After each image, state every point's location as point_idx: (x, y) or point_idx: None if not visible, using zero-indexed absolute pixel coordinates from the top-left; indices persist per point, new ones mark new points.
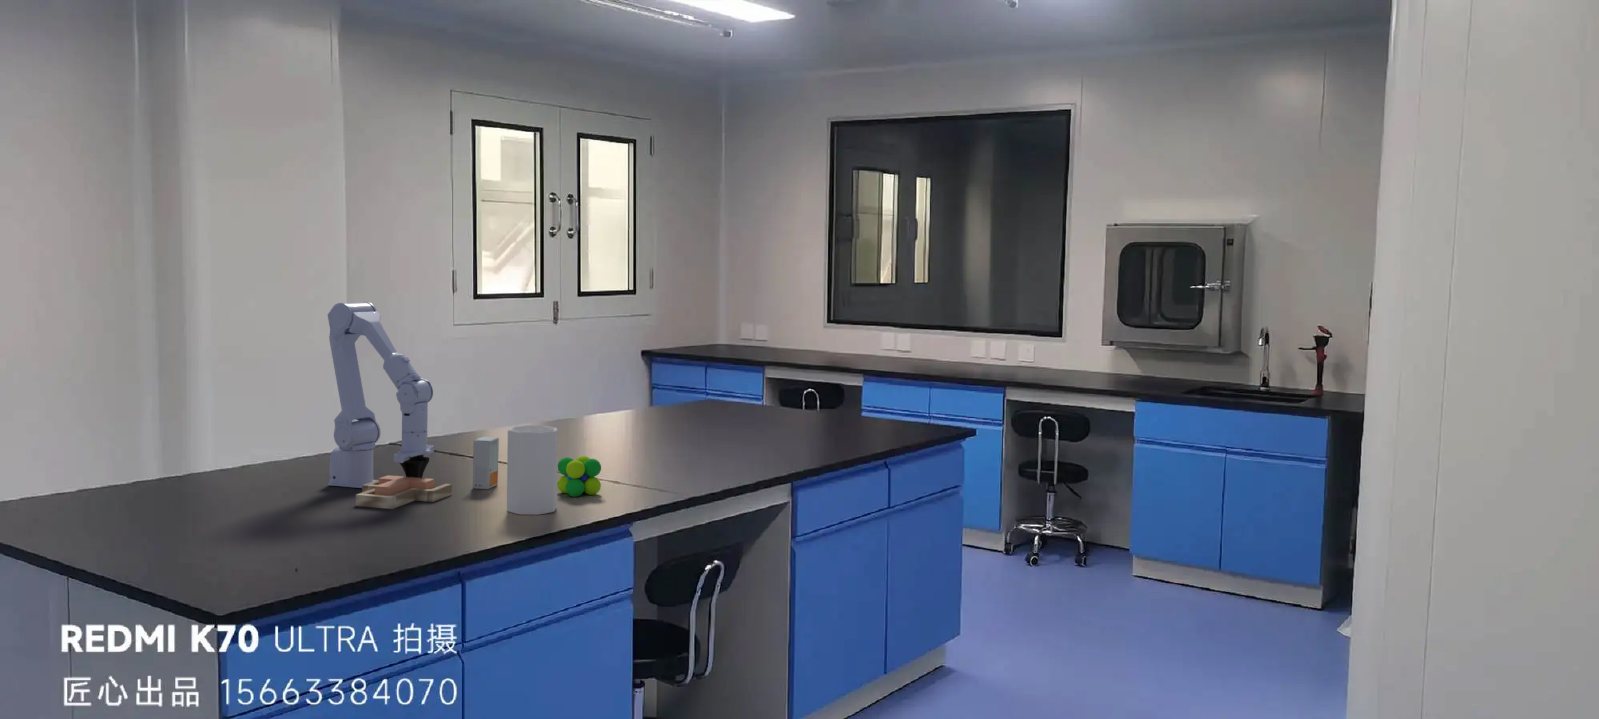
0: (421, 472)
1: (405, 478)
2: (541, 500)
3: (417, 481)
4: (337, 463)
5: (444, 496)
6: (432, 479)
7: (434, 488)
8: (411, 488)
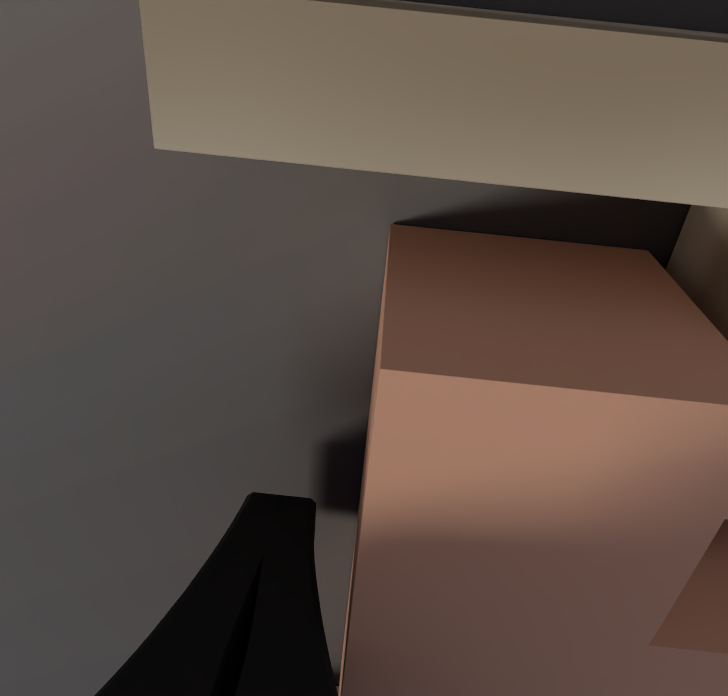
0: (210, 680)
1: None
2: None
3: (699, 550)
4: None
5: (472, 8)
6: (437, 388)
7: (702, 178)
8: None
